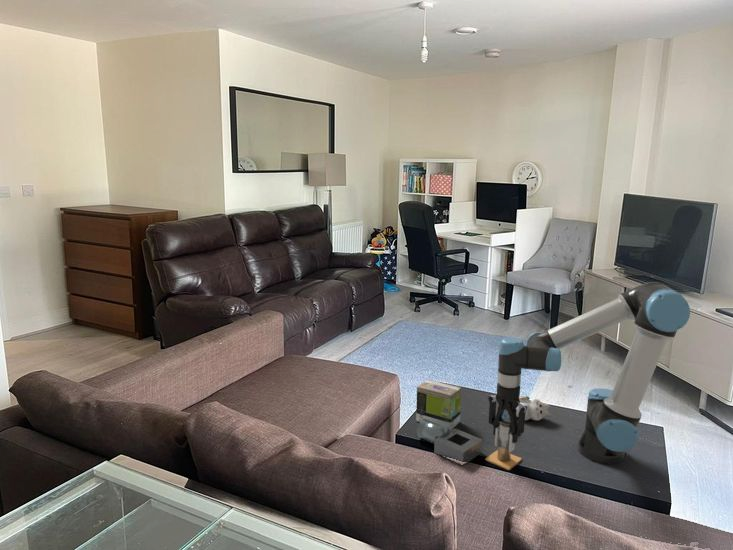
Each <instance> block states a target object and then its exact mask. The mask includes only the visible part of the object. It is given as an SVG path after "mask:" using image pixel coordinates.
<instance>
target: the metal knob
mask: <svg viewBox="0 0 733 550" xmlns="http://www.w3.org/2000/svg"><path fill="white" fill-rule="evenodd" d="M498 422H499V439H498V446H497V450H498V455H497V458H498V460H500V461H502V462H509V461H510V459H511V454H512V452H509V439H510V433H512V429H511V422H510V418H508V417H505V418H503V417H502V418H501V419H499V420H498Z"/></svg>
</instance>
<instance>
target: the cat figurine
mask: <svg viewBox="0 0 733 550" xmlns="http://www.w3.org/2000/svg"><path fill="white" fill-rule="evenodd" d="M530 399H531V398H530V396H519V400H520V404H522V405H523V406H527V410H526V412H525V422H527V421H529V420H532V421H540V420H542V419H544V418H545V417H551V413H550V412H549V410H548V409H550V407H551V406H550V404H549V403H544V402H543V401H541V400H540V399H538V398H533V399H532V400H530ZM516 410H517V412H516V415H517V418H518V415H519V411H518V410H519V407H517V408H516Z"/></svg>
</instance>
